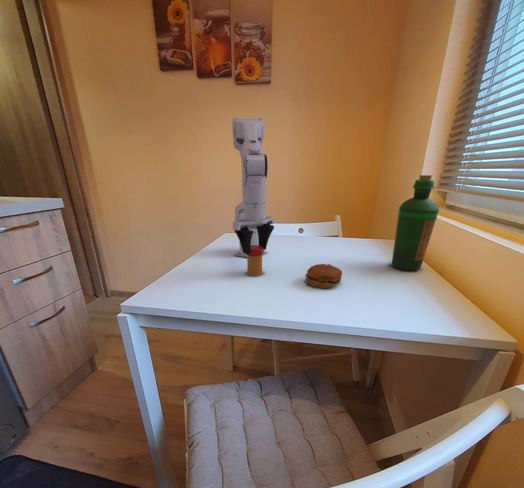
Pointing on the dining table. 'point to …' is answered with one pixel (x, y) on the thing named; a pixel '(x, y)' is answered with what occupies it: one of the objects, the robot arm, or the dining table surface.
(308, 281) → the burger
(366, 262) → the dining table surface
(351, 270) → the dining table surface
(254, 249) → the jar lid
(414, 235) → the bottle
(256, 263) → the honey jar
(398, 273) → the dining table surface
